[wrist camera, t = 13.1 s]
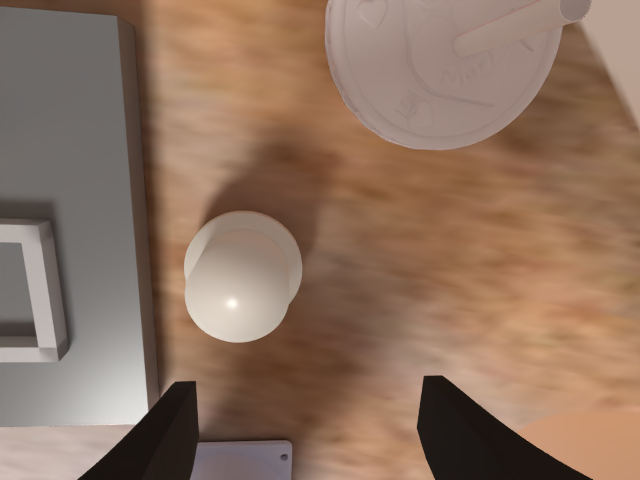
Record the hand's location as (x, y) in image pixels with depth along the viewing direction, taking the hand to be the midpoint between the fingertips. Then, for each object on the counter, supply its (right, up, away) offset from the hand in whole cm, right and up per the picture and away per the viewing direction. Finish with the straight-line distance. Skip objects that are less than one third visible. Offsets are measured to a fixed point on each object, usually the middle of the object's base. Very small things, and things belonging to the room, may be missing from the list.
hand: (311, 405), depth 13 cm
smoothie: (+3, +14, +7) cm, 16 cm away
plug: (-4, +4, +9) cm, 11 cm away
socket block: (-16, +5, +8) cm, 18 cm away
